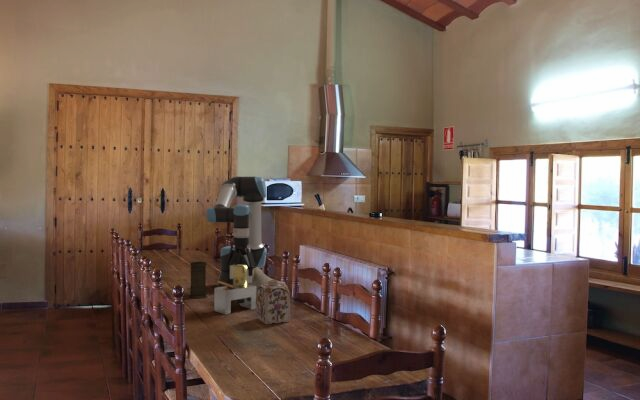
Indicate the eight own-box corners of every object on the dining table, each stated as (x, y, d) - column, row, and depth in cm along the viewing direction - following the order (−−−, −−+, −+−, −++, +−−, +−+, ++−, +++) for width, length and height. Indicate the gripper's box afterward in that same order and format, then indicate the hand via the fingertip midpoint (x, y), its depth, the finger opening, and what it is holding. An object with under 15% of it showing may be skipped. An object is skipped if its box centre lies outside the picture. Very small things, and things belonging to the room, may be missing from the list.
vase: (288, 269, 304) (239, 259, 294) (302, 269, 285) (251, 258, 275) (280, 309, 300) (231, 300, 290) (294, 312, 280) (242, 302, 270)
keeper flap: (228, 287, 266) (228, 284, 266) (234, 288, 262) (235, 286, 262) (216, 282, 261) (217, 279, 261) (223, 284, 257) (224, 281, 257)
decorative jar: (265, 324, 240) (265, 283, 239) (255, 318, 250) (256, 279, 249) (290, 322, 245) (291, 281, 244) (280, 315, 255) (280, 277, 255)
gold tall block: (241, 300, 273) (242, 263, 272) (250, 302, 268) (250, 265, 267) (230, 302, 268) (230, 265, 267) (238, 304, 263) (239, 267, 262)
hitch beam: (244, 305, 276) (245, 283, 275) (256, 308, 269) (256, 285, 269) (214, 310, 263) (214, 287, 262) (225, 314, 256) (225, 290, 256)
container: (202, 298, 288) (202, 264, 287) (186, 297, 289) (186, 263, 289) (209, 295, 296) (209, 262, 296) (193, 294, 298) (194, 261, 297)
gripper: (219, 235, 273) (219, 277, 274) (250, 239, 255) (250, 285, 256) (232, 234, 278) (231, 275, 279) (263, 238, 260) (263, 283, 261)
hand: (240, 280), depth 267 cm, fingers open, 13 cm apart
